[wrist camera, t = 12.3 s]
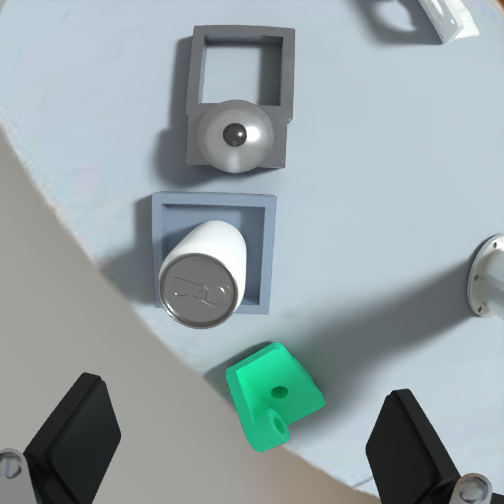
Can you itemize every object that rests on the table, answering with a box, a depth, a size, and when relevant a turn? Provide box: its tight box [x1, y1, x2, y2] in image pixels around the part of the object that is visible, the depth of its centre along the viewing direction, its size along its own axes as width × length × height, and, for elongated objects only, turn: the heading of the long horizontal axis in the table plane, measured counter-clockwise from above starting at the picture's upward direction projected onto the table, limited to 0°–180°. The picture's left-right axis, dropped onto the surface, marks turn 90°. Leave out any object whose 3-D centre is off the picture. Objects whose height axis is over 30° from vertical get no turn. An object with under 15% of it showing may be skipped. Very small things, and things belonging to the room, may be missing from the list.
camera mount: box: [225, 342, 325, 452], centre depth 32 cm, size 12×8×10 cm, turn 35°
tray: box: [152, 191, 277, 315], centre depth 31 cm, size 12×12×3 cm
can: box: [158, 221, 246, 329], centre depth 26 cm, size 6×6×12 cm
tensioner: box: [185, 25, 295, 173], centre depth 25 cm, size 10×16×6 cm, turn 177°
